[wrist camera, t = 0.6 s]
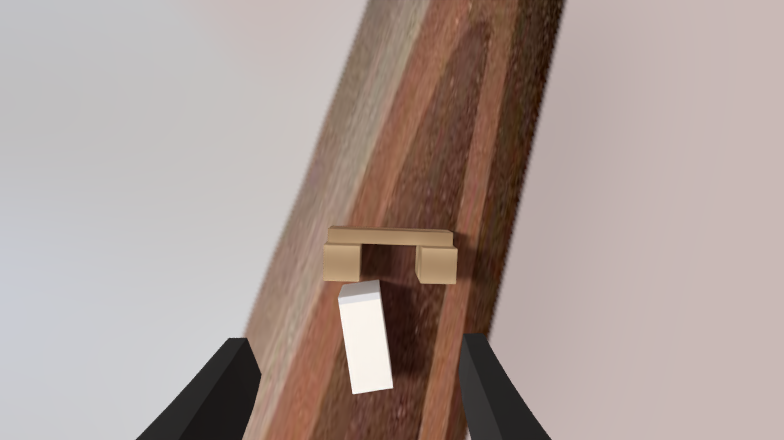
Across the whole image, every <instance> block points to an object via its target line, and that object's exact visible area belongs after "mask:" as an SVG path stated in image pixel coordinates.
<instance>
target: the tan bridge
mask: <svg viewBox="0 0 784 440" xmlns="http://www.w3.org/2000/svg"><path fill="white" fill-rule="evenodd" d="M362 243H363V244H394V245H416V266H415V273H416V275H417V277H418V279H419V281H420V283H431V284H456V270H457V252H458V249H457V248H455V247H454V246H453V233H452V232H450V231H449V230H438V229H409V228H380V227H352V226H331V227H330V228H328V241H327V242H326V243H325V244H324V261H323V281H356V282H359V280H360V274H361V264H362Z"/></svg>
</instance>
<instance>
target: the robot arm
mask: <svg viewBox="0 0 784 440" xmlns="http://www.w3.org/2000/svg"><path fill="white" fill-rule="evenodd" d="M261 375H262V374H261V372H260V369H259V367H258V364H257V362H256V359H255V357H254V354H253V352H252V349H251V347H250V344H249V342H248V339H247V338H229V339H228V340H227V341H226V342H225V343H224V344H223V345H222V346H221V347H220V349H219V350H218V351H217V352H216V353H215V354H214V355H213V357H212V358H211V359H210V360H209V361H208V362H207V363H206V365H205V366H204V367H203V368H202V369H201V370H200V372H199V373H198V374H197V375H196V376H195V377H194V378H193V379H192V381H191V382H190V383H189V384H188V385H187V386H186V387H185V388H184V389H183V390H182V392H181V393H180V394H179V395H178V396H177V397H176V398H175V399H174V400H173V401H172V403H171V404H170V405H169V406H168V407H167V408H166V409H165V410H164V411H163V412H162V413H161V414H160V415H159V416H158V417H157V418H156V419H155V420H154V421H153V422H152V424H151V425H150V426H149V427H148V428H147V429H146V430H145V431H144V432H143V433H142V434H141V435H140V436H139V437H138V438H137V439H136V440H242V438H243V435H244V432H245V430H246V427H247V424H248V421H249V419H250V416H251V413H252V410H253V407H254V404H255V400H256V396H257V392H258V388H259V384H260V379H261ZM459 378H460V386H461V393H462V400H463V406H464V410H465V415H466V419H467V423H468V427H469V432H470V436H471V440H551V438H550V437H549V436H548V434H547V433H546V432H545V430H544V429H543V428H542V426H541V425H540V423H539V422H538V421H537V419H536V418H535V417H534V415H533V414H532V412H531V411H530V409H529V408H528V407H527V405H526V404H525V402H524V401H523V399H522V398H521V396H520V395H519V393H518V391H517V390H516V388H515V387H514V385H513V384H512V383H511V381H510V379H509V378H508V376H507V374H506V373H505V371H504V369H503V368H502V366H501V364H500V363H499V361H498V359H497V357H496V356H495V354H494V352H493V350H492V348H491V347H490V345H489V343H488V341H487V339H486V337H485V335H483V334H482V333H475V334H463V341H462V349H461V356H460V364H459Z"/></svg>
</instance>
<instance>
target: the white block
mask: <svg viewBox="0 0 784 440" xmlns="http://www.w3.org/2000/svg"><path fill="white" fill-rule="evenodd" d="M338 301H339V307H340V314H341V320H342V327H343V333H344V340H345V346H346V353H347V359H348V366H349V372H350V379H351V385H352V392H353V394H357V393H363V392H370V391H376V390H382V389H389V388H393V383H392V371H391V361H390V354H389V347H388V340H387V333H386V326H385V319H384V312H383V305H382V298H381V291H380V284H379V280H373V281H366V282H359V283H352V284H345V285H343V286H342V289H341V291H340V294H339V297H338Z"/></svg>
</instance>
